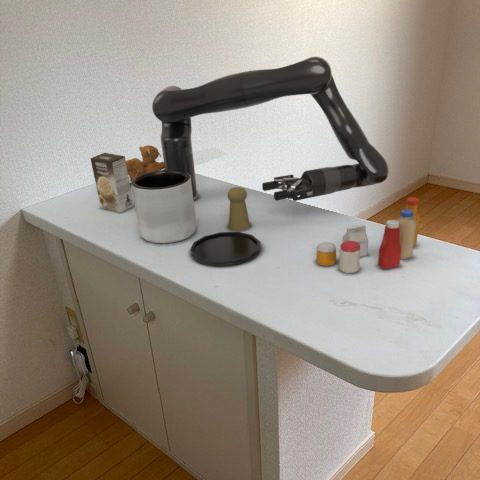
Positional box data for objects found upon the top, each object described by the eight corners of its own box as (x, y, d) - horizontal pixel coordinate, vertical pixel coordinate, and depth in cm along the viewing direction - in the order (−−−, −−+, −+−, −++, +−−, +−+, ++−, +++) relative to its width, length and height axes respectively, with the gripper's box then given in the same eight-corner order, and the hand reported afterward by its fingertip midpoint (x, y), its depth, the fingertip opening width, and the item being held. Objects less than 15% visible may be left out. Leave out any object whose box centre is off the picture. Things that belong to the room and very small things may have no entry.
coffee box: (99, 208, 164) (88, 158, 156) (114, 201, 169) (103, 152, 160) (121, 213, 160) (110, 161, 151) (134, 206, 165) (125, 155, 156)
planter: (128, 240, 142) (117, 185, 134) (161, 218, 154) (153, 167, 145) (176, 249, 136) (168, 192, 127) (208, 226, 147) (202, 172, 139)
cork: (242, 232, 142) (240, 193, 136) (224, 228, 145) (221, 190, 139) (253, 224, 146) (252, 186, 140) (236, 220, 149) (233, 183, 143)
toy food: (409, 239, 132) (415, 193, 125) (437, 260, 121) (444, 212, 115) (310, 256, 128) (311, 209, 121) (330, 279, 117) (332, 230, 111)
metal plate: (176, 256, 132) (175, 251, 131) (220, 231, 144) (219, 226, 143) (232, 273, 123) (232, 268, 122) (274, 244, 134) (274, 239, 134)
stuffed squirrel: (172, 184, 180) (167, 146, 172) (134, 193, 174) (127, 154, 167) (161, 177, 187) (155, 140, 180) (124, 186, 182) (117, 148, 174)
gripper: (310, 162, 151) (258, 171, 147) (333, 175, 139) (278, 186, 135) (309, 187, 155) (259, 196, 151) (332, 202, 143) (278, 213, 139)
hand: (268, 191), depth 143 cm, fingers open, 8 cm apart
